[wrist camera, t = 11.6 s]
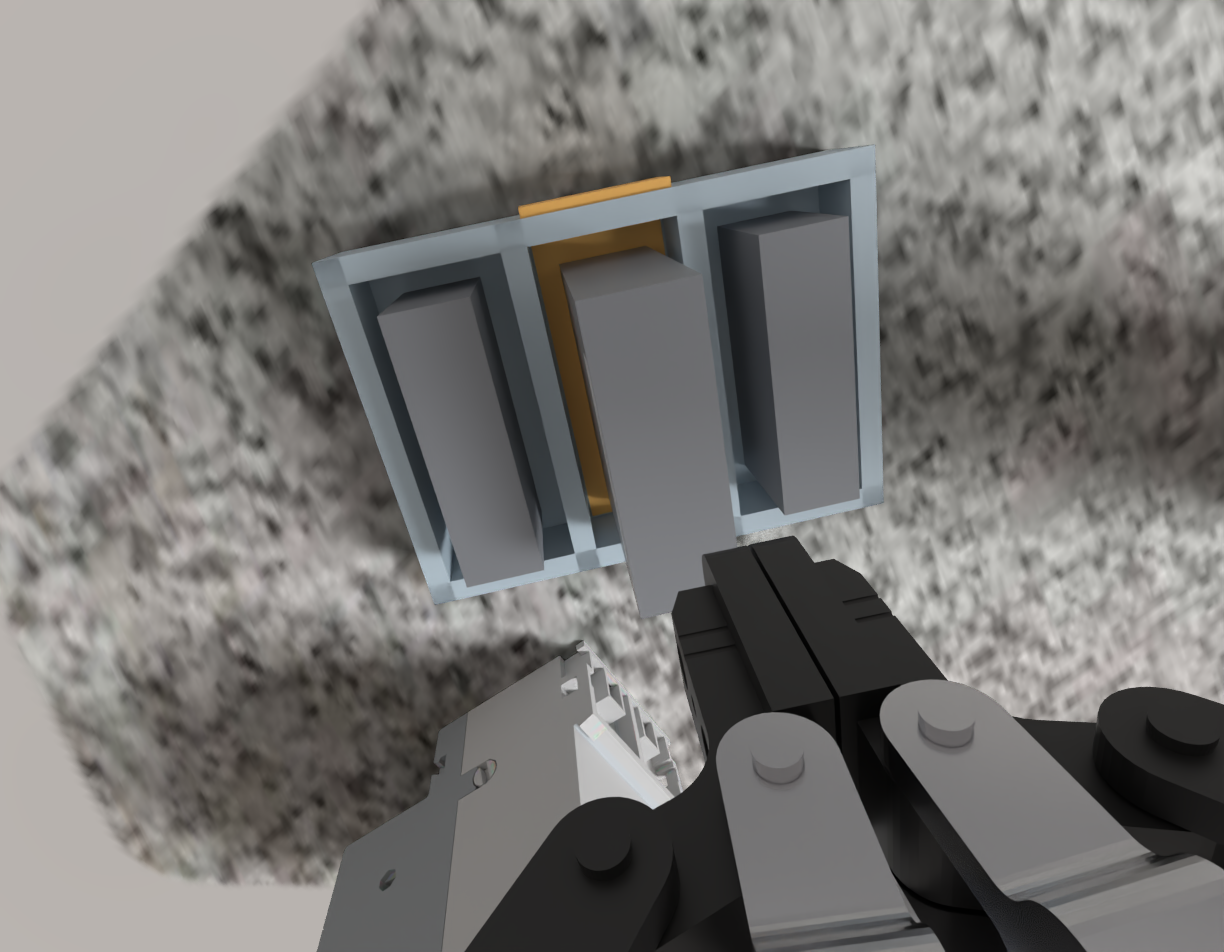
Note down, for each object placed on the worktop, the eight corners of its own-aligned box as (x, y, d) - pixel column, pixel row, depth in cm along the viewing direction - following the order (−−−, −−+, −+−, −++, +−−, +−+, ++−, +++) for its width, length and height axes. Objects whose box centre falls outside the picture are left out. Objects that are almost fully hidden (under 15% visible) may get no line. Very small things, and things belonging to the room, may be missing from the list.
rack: (826, 140, 23) (910, 128, 18) (843, 467, 28) (911, 527, 23) (338, 243, 23) (285, 259, 18) (445, 556, 28) (427, 638, 23)
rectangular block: (646, 245, 23) (703, 274, 15) (684, 482, 26) (744, 595, 19) (558, 264, 23) (573, 301, 15) (608, 499, 26) (640, 619, 19)
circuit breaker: (337, 793, 32) (196, 1245, 18) (583, 640, 30) (631, 1016, 17) (438, 873, 35) (382, 1315, 21) (669, 738, 33) (769, 1126, 20)
